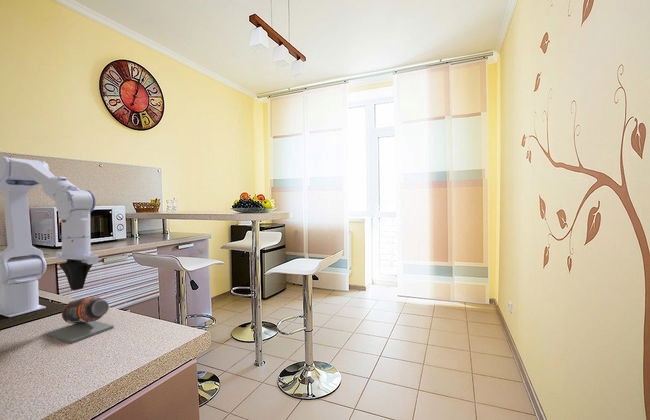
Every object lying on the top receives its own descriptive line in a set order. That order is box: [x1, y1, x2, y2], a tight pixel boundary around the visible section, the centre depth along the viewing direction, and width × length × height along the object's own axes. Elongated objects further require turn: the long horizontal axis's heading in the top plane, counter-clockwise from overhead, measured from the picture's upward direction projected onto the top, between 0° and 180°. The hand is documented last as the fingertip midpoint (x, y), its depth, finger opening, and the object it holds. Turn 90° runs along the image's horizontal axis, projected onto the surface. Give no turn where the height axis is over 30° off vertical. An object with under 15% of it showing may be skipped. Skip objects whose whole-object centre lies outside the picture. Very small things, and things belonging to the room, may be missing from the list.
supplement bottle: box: [61, 296, 110, 325], centre depth 76 cm, size 6×6×11 cm
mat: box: [47, 320, 115, 344], centre depth 73 cm, size 10×9×1 cm
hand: (77, 289), depth 77 cm, fingers closed
